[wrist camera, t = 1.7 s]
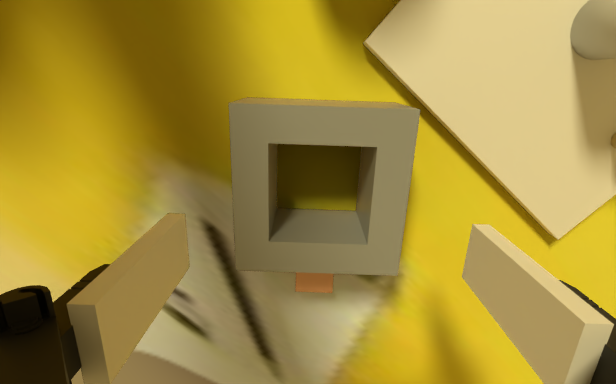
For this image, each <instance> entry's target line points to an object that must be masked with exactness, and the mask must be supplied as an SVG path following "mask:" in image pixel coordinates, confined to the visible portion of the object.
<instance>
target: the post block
mask: <svg viewBox="0 0 616 384" xmlns="http://www.w3.org/2000/svg"><path fill="white" fill-rule="evenodd" d="M363 44H364V45H365V46H366V47H367V48H368V49H369V50H370V51H371V52H372V53H373V54H374V55H375V56H376V57H377V58H378V59H379V60H380V61H381V63H382V64H383V65H384V66H385V67H386V68H387V69H388V70H389V71H390V72H391V73H392V74H393V75H394V76H395V77H396V78H397V79H398V80H399V81H400V82H401V83H402V84H403V85H404V86H405V87H406V88H407V89H408V90H409V91H410V92H411V93H412V94H413V95H414V96H415V97H416V98H417V99H418V100H419V101H420V102H421V103H422V104H423V106H424V107H425V108H426V109H427V110H428V111H429V112H430V113H431V114H432V115H433V116H434V117H435V118H436V119H437V120H438V121H439V122H440V123H441V124H442V125H443V126H444V127H445V128H446V129H447V130H448V131H449V132H450V133H451V134H452V135H453V136H454V137H455V138H456V139H457V140H458V141H459V142H460V143H461V144H462V145H463V146H464V148H465V149H466V150H467V151H468V152H469V153H470V154H471V155H472V156H473V157H474V158H475V159H476V160H477V161H478V162H479V163H480V164H481V165H482V166H483V167H484V168H485V169H486V170H487V171H488V172H489V173H490V174H491V175H492V176H493V177H494V178H495V179H496V180H497V181H498V182H499V183H500V184H501V185H502V186H503V187H504V188H505V189H506V191H507V192H508V193H509V194H510V195H511V196H512V197H513V198H514V199H515V200H516V201H517V202H518V203H519V204H520V205H521V206H522V207H523V208H524V209H525V210H526V211H527V212H528V213H529V214H530V215H531V216H532V217H533V218H534V219H535V220H536V221H537V222H538V223H539V224H540V225H541V226H542V227H543V228H544V229H545V230H546V231H547V233H549V234H550V235H552V236H553V237H555V238H556V239H560V238H561V237H562V236H563V235H565V234H566V233H567V232H568V231H570V230H571V229H572V228H574V227H575V226H576V225H577V224H579V223H580V222H581V221H582V220H584V219H585V218H586V217H587V216H589V215H590V214H591V213H593V212H594V211H595V210H596V209H598V208H599V207H600V206H601V205H603V204H604V203H605V202H607V201H608V200H609V199H610V198H612V197H613V196H614V195H615V194H616V0H400V1H399V2H398V3H397V4H396V6H395V7H394V8H393V9H392V10H391V11H390V12H389V14H388V15H387V16H386V17H385V18H384V19H383V20H382V22H381V23H380V24H379V25H378V26H377V27H376V28H375V30H374V31H373V32H372V33H371V34H370V35H369V36H368V38H367V39H366V40H365V41H364V42H363Z"/></svg>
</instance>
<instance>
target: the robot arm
mask: <svg viewBox="0 0 616 384" xmlns="http://www.w3.org/2000/svg"><path fill="white" fill-rule="evenodd" d="M189 267H190V266H189V254H188V243H187V231H186V219H185V214H180V213H168V214H167V215H166V216H164V217H163V218H162V219H161V220H160V221H159V222H158V223H157V224H156V225H154V226H153V227H152V228H151V229H150V230H149V231H148V232H147V233H145V234H144V235H143V236H142V237H141V238H140V239H139V240H138V241H136V242H135V243H134V244H133V245H132V246H131V247H130V248H129V249H128V250H126V251H125V252H124V253H123V254H122V255H121V256H120V257H119V258H117V259H116V260H115V261H114V262H113V263H112V264H104V265H102V266H100V267H98V268H96V269H94V270H92V271H90V272H89V273H88V274H87V275H85V276H84V277H83V278H82V279H81V280H80V282H77V283H76V284H75V285H73V286H72V287H71V289H69V290H68V291H66V292H65V293H64V294H63V295H62V296H60V297H59V298H58V299H57V300H56V301H54V302H52V297H51V293H50V290H49V289H48V288H47V287H44V286H40V285H37V286H26V287H21V288H17V289H14V290H11V291H8V292H5V293H3V294H1V295H0V384H72V382H71V379H72V378H73V376H74V375H75V374H76V373H77V372H78V370H79V369H80V368H81V371H82V376H83V380H84V383H85V384H111V383H112V381H113V380H114V378H115V377H116V375H117V374H118V372H119V371H120V369H121V368H122V366H123V365H124V363H125V362H126V360H127V359H128V357H129V356H130V354H131V353H132V352H133V350H134V349H135V347H136V346H137V344H138V343H139V341H140V340H141V338H142V337H143V335H144V334H145V332H146V331H147V329H148V328H149V326H150V325H151V323H152V322H153V320H154V319H155V317H156V316H157V314H158V313H159V312H160V310H161V309H162V307H163V306H164V304H165V303H166V301H167V300H168V298H169V297H170V295H171V294H172V292H173V291H174V289H175V288H176V286H177V285H178V283H179V282H180V280H181V279H182V277H183V276H184V274H185V273H186V271H187V270H188V269H189ZM462 278H463V279H464V280H465V282H466V283H467V284H468V285H469V287H470V288H471V289H472V291H473V292H474V293H475V295H476V296H477V297H478V298H479V300H480V301H481V302H482V304H483V305H484V306H485V308H486V309H487V310H488V311H489V313H490V314H491V315H492V317H493V318H494V319H495V321H496V322H497V323H498V324H499V326H500V327H501V328H502V330H503V331H504V332H505V334H506V335H507V336H508V337H509V339H510V340H511V341H512V343H513V344H514V345H515V346H516V348H517V349H518V350H519V352H520V353H521V354H522V356H523V357H524V358H525V359H526V361H527V362H528V363H529V365H530V366H531V367H532V369H533V370H534V371H535V372H536V374H537V375H538V376H539V378H540V379H541V380H542V382H543V383H544V384H616V319H615V318H614V317H612V316H611V315H610V314H609V313H607V312H606V311H605V310H603V309H602V308H599V306H598V305H597V304H596V303H594V302H593V301H592V300H589V298H588V297H587V296H585V295H584V294H583V293H582V292H580V291H579V290H578V289H576V288H575V287H573V286H571V285H569V284H567V283H565V282H563V281H561V280H558V279H556V278H555V277H554V276H553V275H551V274H550V273H549V272H548V271H546V270H545V269H544V268H543V267H541V266H540V265H539V264H538V263H536V262H535V261H534V260H533V259H531V258H530V257H529V256H528V255H526V254H525V253H524V252H523V251H521V250H520V249H519V248H518V247H516V246H515V245H514V244H513V243H511V242H510V241H509V240H508V239H506V238H505V237H504V236H503V235H502V234H500V233H499V232H498V231H497V230H495V229H494V228H493V227H492V226H490V225H481V224H472V229H471V234H470V239H469V244H468V249H467V254H466V259H465V264H464V269H463V274H462Z"/></svg>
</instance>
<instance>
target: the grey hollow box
mask: <svg viewBox="0 0 616 384" xmlns="http://www.w3.org/2000/svg"><path fill="white" fill-rule="evenodd" d="M419 116H420V109H416V108H413V107H409V106H406V105H402V104H399V103H392V102H364V101H335V100H307V99H278V98H249V97H247V98H244V99H240V100H237V101H234V102H230V103H229V122H230V146H231V170H232V194H233V219H234V243H235V267H236V270H241V271H271V272H296V291H297V292H327V293H332V290H333V275H334V274H361V275H391V276H398V269H399V262H400V255H401V247H402V240H403V233H404V226H405V218H406V211H407V204H408V196H409V189H410V182H411V175H412V167H413V160H414V153H415V146H416V138H417V131H418V124H419ZM278 144H303V145H332V146H361V156H360V168H359V180H358V192H357V203H356V211H346V210H316V209H287V208H277V166H278Z"/></svg>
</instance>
